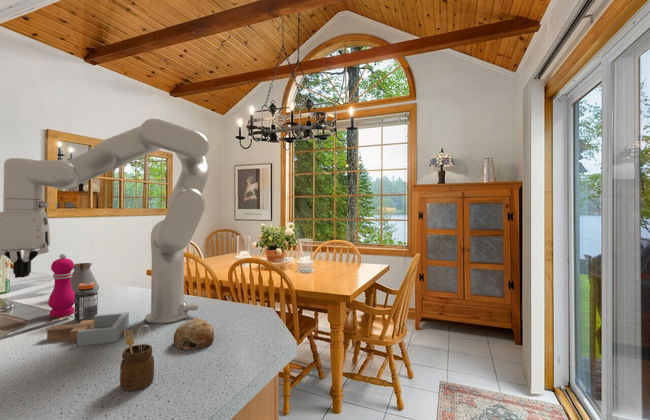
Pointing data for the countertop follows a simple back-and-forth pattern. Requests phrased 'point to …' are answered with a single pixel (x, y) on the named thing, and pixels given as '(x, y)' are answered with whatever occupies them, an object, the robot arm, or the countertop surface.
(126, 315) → the pocket
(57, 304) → the pepper mill
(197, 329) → the bread roll
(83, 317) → the pill bottle
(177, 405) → the countertop surface
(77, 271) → the coffee pot
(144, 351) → the utensil holder
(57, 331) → the T block
